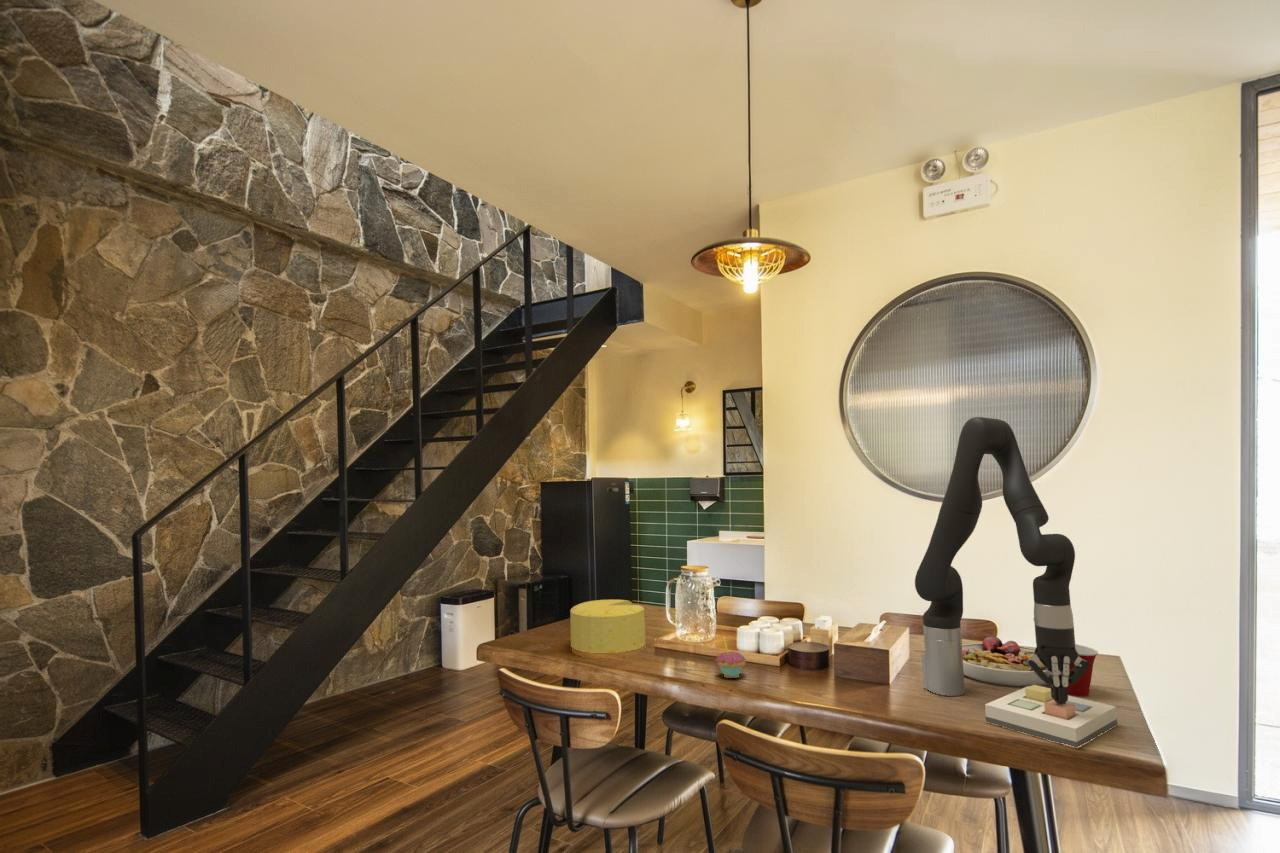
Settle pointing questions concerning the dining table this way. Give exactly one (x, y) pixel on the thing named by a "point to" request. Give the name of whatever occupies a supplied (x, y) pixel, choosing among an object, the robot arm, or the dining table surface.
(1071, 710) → the key terracotta
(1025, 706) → the key sage
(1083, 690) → the plastic cup
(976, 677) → the bowl
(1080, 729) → the keypad board
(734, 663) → the cupcake
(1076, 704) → the key slate
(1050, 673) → the robot arm
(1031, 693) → the key mustard
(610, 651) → the cheese
